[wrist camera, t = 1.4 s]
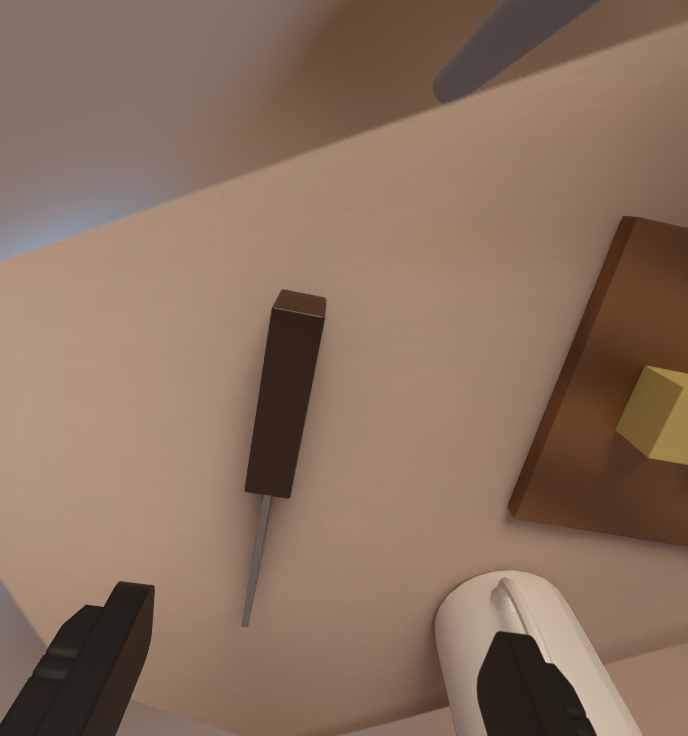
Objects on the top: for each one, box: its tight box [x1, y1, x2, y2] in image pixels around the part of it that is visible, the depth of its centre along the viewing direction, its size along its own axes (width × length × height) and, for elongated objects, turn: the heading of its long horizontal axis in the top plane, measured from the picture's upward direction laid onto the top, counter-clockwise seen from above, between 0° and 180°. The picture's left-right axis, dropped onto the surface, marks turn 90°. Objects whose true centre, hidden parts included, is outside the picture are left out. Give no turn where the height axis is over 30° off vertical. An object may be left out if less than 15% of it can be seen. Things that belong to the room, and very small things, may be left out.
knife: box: [241, 290, 326, 627], centre depth 26 cm, size 20×2×4 cm, turn 168°
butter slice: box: [615, 366, 688, 465], centre depth 24 cm, size 4×3×3 cm
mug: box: [435, 570, 643, 736], centre depth 27 cm, size 10×12×12 cm
